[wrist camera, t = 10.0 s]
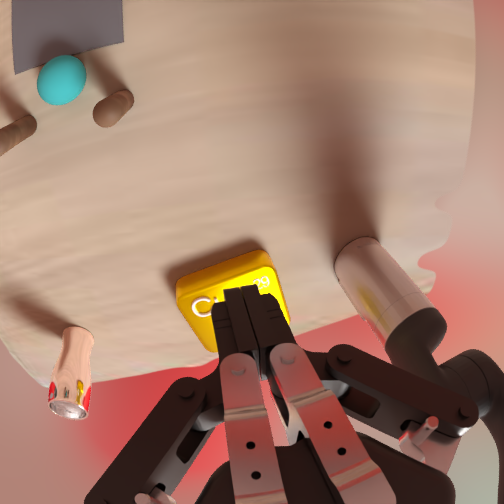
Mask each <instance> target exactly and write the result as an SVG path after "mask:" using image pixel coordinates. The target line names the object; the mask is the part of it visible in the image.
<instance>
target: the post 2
mask: <svg viewBox="0 0 504 504" xmlns="http://www.w3.org/2000/svg"><path fill="white" fill-rule="evenodd" d="M133 103H134V97H133V94H132V93H131V92H130V91H127V90H120V91H118V92H116V93H114V94H112V95H110V96H109V97H107V98H105V99H103V100H101V101H99V102H98V103H97V104H96V105H95V107H94V110H93V119H94V121H95V122H96V124H98V125H99V126H101V127H111V126H113V125H115V124H116V123H117V122H118V121H119V120H120V119H121V118H122V117H123V115H124V114H125V113H126V112H127V111H128V110H129V109H130V108H131V107H132V106H133Z"/></svg>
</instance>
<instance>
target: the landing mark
mask: <svg viewBox="0 0 504 504" xmlns="http://www.w3.org/2000/svg"><path fill="white" fill-rule="evenodd" d="M122 42H124V36H123V14H122V0H12V44H13V59H14V70H15V75H16V74H18V73H21V72H23V71H26V70H28V69H31V68H34V67H36V66H39V65H42V64H45V63H47V62H49V61H50V60H51V59H53V58H55V57H58V56H61V55H73V54H77V53H80V52H84V51H88V50H92V49H96V48H100V47H104V46H108V45H113V44H118V43H122Z"/></svg>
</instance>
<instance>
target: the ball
mask: <svg viewBox="0 0 504 504" xmlns="http://www.w3.org/2000/svg"><path fill="white" fill-rule="evenodd" d="M85 82H86V70H85V67H84V65H83V63H82V62H81V61H80V60H79V59H77V58H76V57H74V56H70V55H61V56H58V57H55V58H53V59H51V60H50V61H49V62H47V63H46V64H45V65H44V67H43V68H42V69H41V71H40V73H39V76H38V79H37V89H38V93H39V95H40V97H41V98H42V99H43V100H44V101H45V102H47V103H49V104H52V105H63V104H66V103H69V102H71V101H72V100H74V99H75V98H76V97H77V96H78V95H79V94H80V93H81V91H82V89H83V88H84V85H85Z"/></svg>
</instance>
